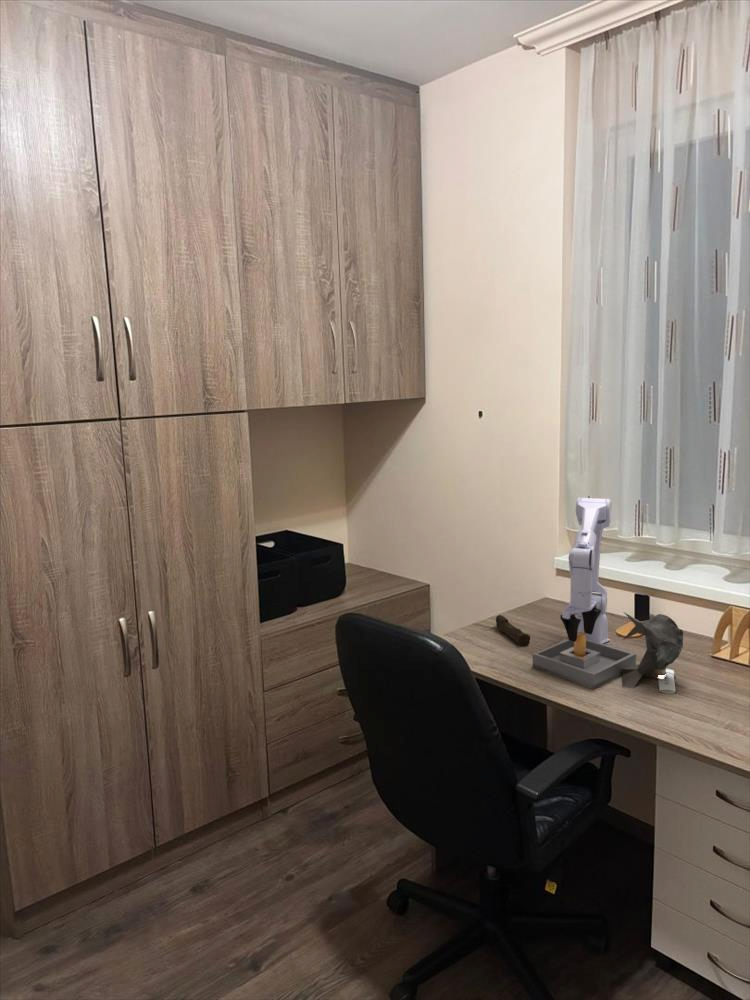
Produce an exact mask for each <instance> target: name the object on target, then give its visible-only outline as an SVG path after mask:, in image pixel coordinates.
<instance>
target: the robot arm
mask: <svg viewBox="0 0 750 1000" xmlns="http://www.w3.org/2000/svg"><path fill="white" fill-rule="evenodd" d="M575 515H576V519H577V523H578V525H579V526H581V527H580V529H579V530H578V531H577V532H576V534H575V538H574V542H573V546H572V549H571V548H570V549H569V553H568V566H569V567H568V568H569V575H570V594H569V595H570V598H569V599H570V601H569V602H567V603H566V605H567V607H566V608H565V609H563V610H562V611H561V613H562V614H560V620H561V622H562V624H563V625H564V628H565V630H566V631H565V632H566V635H567V639H569V640H570V641H574V642H575V641H576V639H577V632H583V633H585V634H586V639H588V640H591V641H595V642H598V643H601V644H605V643H608V642H609V641H610V640H611V639H610V638H608V630H609V629H608V626H609V625H608V624H609V621H608V616H607V615H606V614H607V609H608V591H607V588H606V587H604V586H603V585H602V584H601V583H600V582H599V574H600V560H601V558H600V557H601V547H602V546H601V545H602V534H603V531H604V529H606V528H608V527H610V523H611V517H612V501H611V498H594V497H592V498H591V497H579V496H578V498H577V499H576V502H575Z"/></svg>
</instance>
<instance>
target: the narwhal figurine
mask: <svg viewBox="0 0 750 1000" xmlns="http://www.w3.org/2000/svg"><path fill="white" fill-rule="evenodd" d="M623 613H624V615H626V617H627V618H628V619H629V620H630V621H631V622H632V623H633V624H634V625H635V626H634V627H633V628H631V630H630V631H629V632H628V633H627V635H626V636H625V637H623V639H622V641H624V640H626V639H628V638H630V637H632V636H634V635H636V634H639V635H642V636H644V637H645V644H646V650H645V653H644V654H643V656H642V658H641V661H640V663H639V664H636V665H635V666H631V667H627V668H623V669H622V675H620V677H621V685H622V687H621V688H626V689H628V688H629V689H630V688H631V689H634V688H635V686H636V685H637V684H638V682H639V680H640V679H642V677H646V678H647V677H648V678H652V679H656V680H658V679H657V677H658V675H665V674H666V675H667V667H668V666H669V665H672V664H673V663H674V662H675V661H676V660H677V659H678V658H679V656H681V655H680V654H681V653H682V652H681V651H682V649H683V647H684V630H682V628H679V626H678V625H677V623H676V621H675V620H673V619H672V618H671V617H670V616H668V615H666V614H662V613H659V614H655V616H653V618H652V619H647V620H643V621H642V620H641V621H640V620H639V619H637V618H635V617H634V616H631V615H630V614H628V613H627V612H625V611H623Z"/></svg>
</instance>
